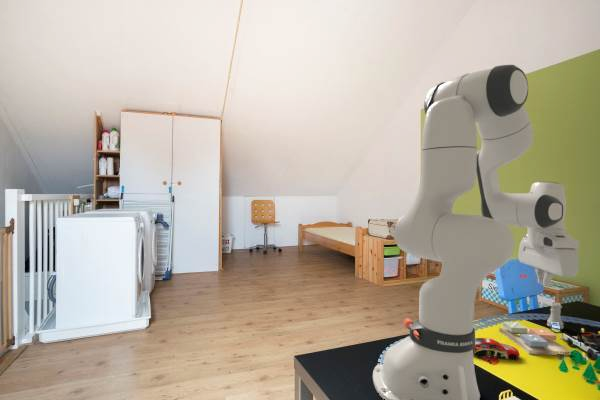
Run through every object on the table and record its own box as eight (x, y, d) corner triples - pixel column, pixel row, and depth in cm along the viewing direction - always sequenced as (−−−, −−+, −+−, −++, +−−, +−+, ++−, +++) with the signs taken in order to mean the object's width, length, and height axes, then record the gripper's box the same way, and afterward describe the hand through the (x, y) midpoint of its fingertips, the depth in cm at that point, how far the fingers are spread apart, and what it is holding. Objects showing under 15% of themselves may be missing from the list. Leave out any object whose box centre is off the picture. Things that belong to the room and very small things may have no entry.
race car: (514, 353, 91) (514, 339, 91) (523, 363, 85) (523, 348, 85) (462, 347, 93) (463, 333, 93) (468, 356, 88) (468, 342, 88)
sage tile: (511, 332, 99) (511, 327, 99) (502, 326, 104) (503, 321, 104) (527, 332, 99) (527, 328, 99) (517, 326, 104) (518, 322, 104)
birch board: (529, 353, 90) (529, 350, 90) (499, 330, 105) (499, 327, 105) (571, 355, 89) (571, 351, 89) (535, 332, 104) (535, 329, 104)
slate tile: (530, 346, 90) (530, 340, 90) (520, 338, 95) (520, 333, 95) (547, 346, 90) (548, 341, 90) (536, 339, 95) (536, 334, 95)
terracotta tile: (539, 339, 94) (539, 334, 94) (529, 332, 99) (529, 327, 99) (556, 340, 94) (556, 335, 94) (545, 333, 99) (545, 328, 99)
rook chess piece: (552, 323, 111) (553, 300, 111) (567, 328, 107) (567, 304, 107) (543, 325, 110) (544, 301, 110) (558, 330, 106) (558, 305, 105)
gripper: (513, 233, 107) (512, 275, 107) (559, 242, 86) (557, 295, 86) (533, 233, 106) (532, 276, 106) (584, 243, 86) (582, 295, 86)
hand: (544, 284), depth 96 cm, fingers closed
